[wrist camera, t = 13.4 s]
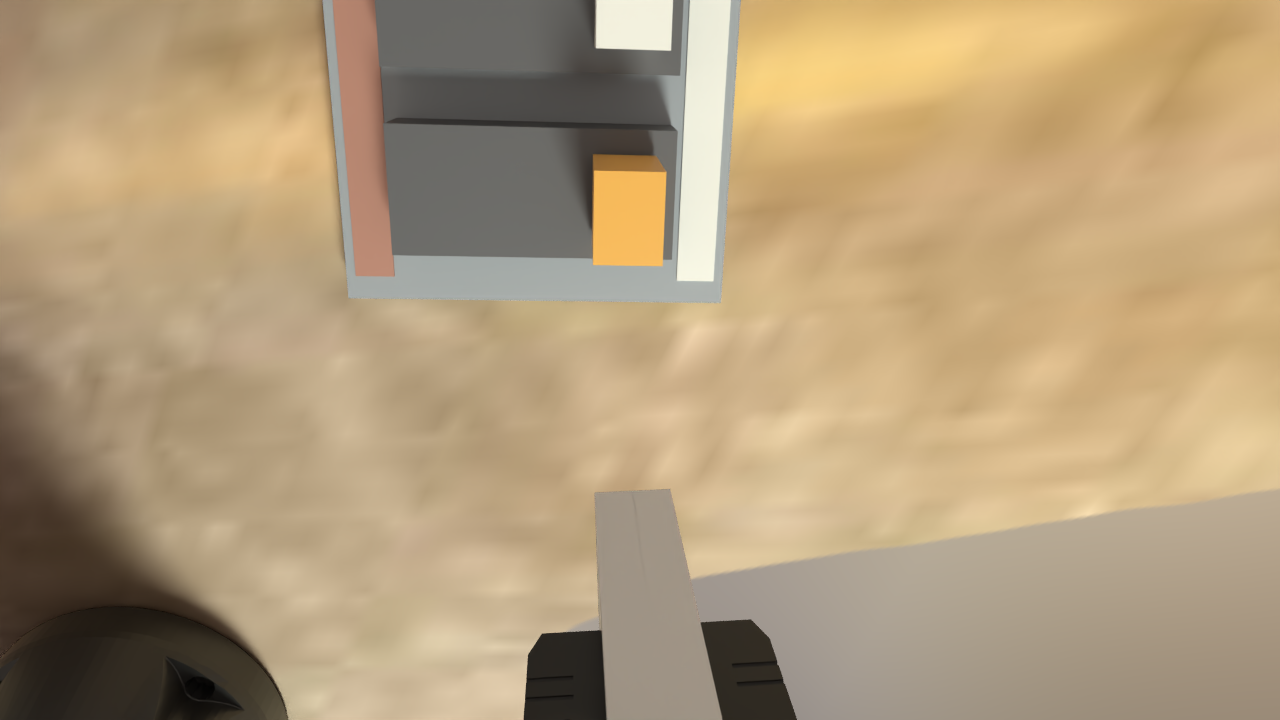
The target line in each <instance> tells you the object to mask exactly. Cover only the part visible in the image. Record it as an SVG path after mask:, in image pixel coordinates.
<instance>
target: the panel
mask: <svg viewBox="0 0 1280 720" xmlns="http://www.w3.org/2000/svg"><path fill="white" fill-rule="evenodd" d="M740 3H741V0H323V12H324V23H325V34H326V46H327V57H328V69H329V80H330V91H331V103H332V114H333V125H334V137H335V148H336V160H337V171H338V182H339V194H340V205H341V216H342V228H343V239H344V251H345V262H346V273H347V285H348V296H349V298H375V299H452V300H529V301H606V302H683V303H721V292H722V277H723V261H724V246H725V231H726V216H727V201H728V185H729V170H730V155H731V140H732V125H733V110H734V94H735V79H736V64H737V49H738V34H739V19H740ZM593 154H605V155H646V156H657V158H658V159H659V161H660V163H661V164H662V166H663V167H664V169H665V171H666V172H667V173H666V197H665V221H664V245H663V266H614V265H593V254H592V186H593Z"/></svg>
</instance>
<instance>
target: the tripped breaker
mask: <svg viewBox="0 0 1280 720" xmlns="http://www.w3.org/2000/svg"><path fill="white" fill-rule="evenodd" d="M666 173H667V172H666V171H665V169H664V167H663V166H662V164H661V163H660V161H659V159H658V158H657V156H646V155H605V154H593V186H592V254H593V265H614V266H663V245H664V221H665V197H666Z"/></svg>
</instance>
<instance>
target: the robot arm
mask: <svg viewBox="0 0 1280 720" xmlns="http://www.w3.org/2000/svg"><path fill="white" fill-rule="evenodd" d="M595 519H596V549H597V579H598V609H599V628H600V630H598V631H580V632H563V633H546V634H542V635H541V636H540V638H539V639H538V641H537V642H536V644H535V645H534V647H533V648H532V650H531V651H530V653H529V654H528V664H527V683H526V694H525V708H524V720H797V719H796V716H795V712H794V709H793V707H792V704H791V701H790V698H789V695H788V692H787V689H786V686H785V684H784V683H783V677H782V674H781V671H780V668H779V666H778V665H777V660H776V656H775V653H774V650H773V648H772V644H771V641H770V639H769V637H768V636H767V635H766V634H764V632H762V630H761V629H760V628H759V627H758V626H757V625H756V624H755V623H754V622H753V621H752V620H735V621H717V622H700V619H699V614H698V610H697V605H696V601H695V597H694V592H693V589H692V583H691V579H690V575H689V570H688V566H687V561H686V557H685V553H684V548H683V544H682V539H681V535H680V531H679V526H678V522H677V517H676V513H675V509H674V504H673V500H672V495H671V491H670V489H661V490H640V491H619V492H597V493H595ZM0 720H288V719H287V715H286V711H285V708H284V705H283V702H282V700H281V698H280V696H279V694H278V692H277V690H276V688H275V686H274V685H273V683H272V682H271V680H270V679H269V677H268V676H267V674H266V673H265V672H264V671H263V670H262V668H261V667H260V666H259V665H258V664H257V663H256V662H255V661H254V660H253V659H252V658H251V657H250V656H249V655H248V654H247V653H246V652H244V651H243V650H242V649H241V648H239V647H238V646H237V645H235V644H234V643H233V642H231V641H230V640H228V639H227V638H225V637H223V636H222V635H220V634H219V633H217V632H215V631H213V630H211V629H209V628H207V627H205V626H203V625H201V624H198V623H196V622H193V621H191V620H188V619H185V618H182V617H179V616H176V615H173V614H169V613H165V612H160V611H155V610H149V609H142V608H132V607H104V608H94V609H87V610H81V611H77V612H73V613H69V614H66V615H63V616H60V617H57V618H55V619H52V620H50V621H48V622H45V623H43V624H41V625H39V626H38V627H36V628H34V629H33V630H31V631H30V632H28V633H27V634H25V635H24V636H23V637H22V638H20V639H19V640H18V641H17V642H16V643H15V644H14V645H13V646H12V647H11V648H10V649H9V650H8V651H7V652H6V653H5V654H4V655H3V656H2V657H1V658H0Z"/></svg>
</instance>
